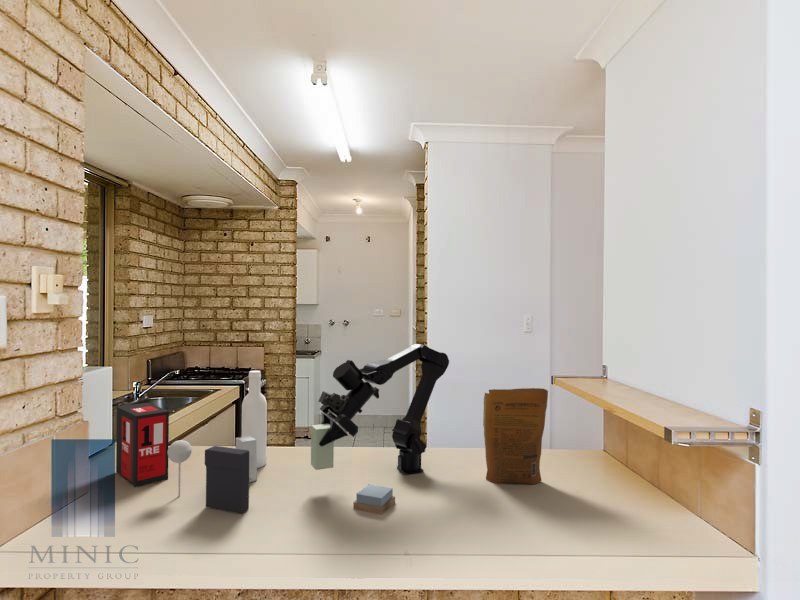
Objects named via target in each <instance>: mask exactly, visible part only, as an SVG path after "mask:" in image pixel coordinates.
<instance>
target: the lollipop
mask: <svg viewBox="0 0 800 600" xmlns="http://www.w3.org/2000/svg"><path fill="white" fill-rule="evenodd" d="M191 445H192V444H190V443H189V441H186V440H184V439H183V440H182V439H180V440H175V441H173V442H172V443H171V444H170V446H168V452H167V453H168V460H170V461H171V462H173V463H175V464H178V484H177V485H178V490H177V491H178V492H177V494H178V495H177V497H179V498H180V497H181V469H182V468H181V466H182V464H181V463H184V462H186V461H187V460H188V459H189V458H190V457H191V455H192V452H193V450H192V449H193V448H192V446H191Z"/></svg>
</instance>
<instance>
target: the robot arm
mask: <svg viewBox="0 0 800 600" xmlns="http://www.w3.org/2000/svg"><path fill="white" fill-rule="evenodd" d="M415 361H419V362H421V365H420V367H421V369H420V370H421V376H420V380H419V381H418V384H417V387H416V390H415V393H414V395H413V398H412V400H411V402H410V403H409V404H410V405H409V407H408V409H407V412H406V415H405V416H404V417H403V418H402V419H400V418H399V419H398V418H397V419H396V421H395V425H394V427H393V428H392V429H391V431H392V434H391V438H392V441H393V443H394V446H395V449H397V450H399V451H398V452H399V453H398V456H397V466H396V469H398V470H399V471H400V472H402V473H403V474H404V475H410V474H411V475H412V474H419V473H423V472H424V469H423V468H422V455H423V453H425V452H426V448H427V445H426V443H424V441H423V440H422V439H421V435H422V426H421V424H422V423H421V422H422V419H423V416H424V413H425V411H426V409H427V406H428V404H429V400H430V399H431V395H432V393H433V390H434V388H435V386H436V383H437V381H438V379H439V380H440V378H441V377H442V376H443V375H444V374H445V373H446V370H447V369H448V367H449V364H450V360H449V357H448V355H447V353H445V352H441V351H438V350H435V349H432V348H430V347H429V346H427V345H426V344H420V343H415V344H412V345H411V346H410V347H407V348H406V349H403V350H402V351H399V352H398V353H396V354H394V355H392V356H390V357H389V358H386V359H383V360H376V361H373V362H372V361H371V362H368V363H366V364H365V365H363V367H362V368H358V366H357V365H356V363H355V362H354V361H353V360H351V359H347V360H346V361H345V362H342V363H341V364H340V365H339V366H337V367H336V368H335V369H334V371H332V372H333V373H332V377H333V378H334V379H335V380H336V382H337V383H339V385H341V386H342V388H343V389H344V390H345V391H348V392H347V394H346V395H345V394H342V395H340V394H337V393H336V392H333V393H329V392H326V391H322V392H321V394H320V396H319V398H318V403H320V404H322V405H321V406H320V407H319V410H320V411H321V413H320V414H321V422H320V424H330V428H329V430H328V431H327V432H326V434H325V435H324V437H323V438H322V440H321V441H320V443H319V445H320V446H321V447H322V446H324V445H326V444H328V443H331V442H333V441H334V442H335V441H337V440H339V439H342V438H344V437H348V436H351V437H353V438H354V437H355V436H356V435H357V434H358V433H359V426H357V424H356V423H354V421H353V418H354V417H355V416H356V415H357V414H361V413H362V412H363V410H362V408H363V407H364V406H365V405H366V403H367V402H368V401H369V400H370V399H371V398H372V397H374V398H376V399H377V400H378V399H379V398H380V393H379V392H380V389H379V388H377V387H376V386H373V385H372V384H374V385H377V386H378V385H379V386H381V385H385V384H386V383H387V382H388V381H390V380H391V379H392V378H393V376H394V374H395V373H396V372H398V371H400V370H401V369H403V368H406V366H408V365H411V364H412V363H414V362H415Z"/></svg>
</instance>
